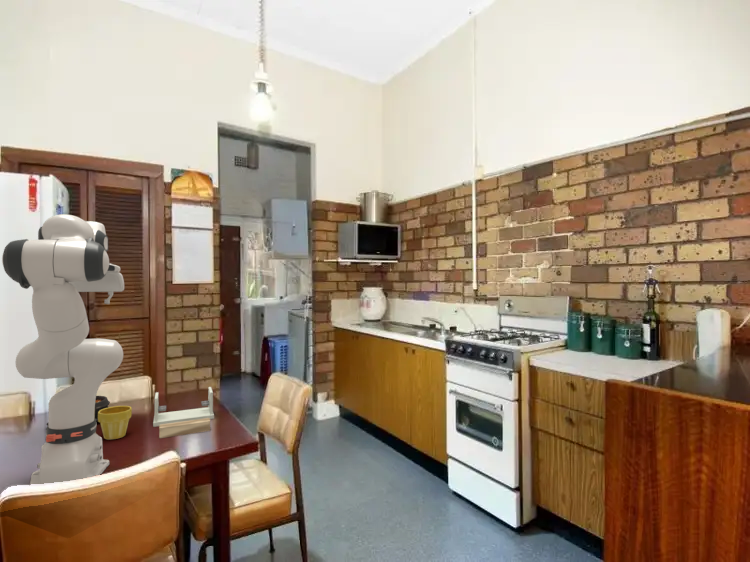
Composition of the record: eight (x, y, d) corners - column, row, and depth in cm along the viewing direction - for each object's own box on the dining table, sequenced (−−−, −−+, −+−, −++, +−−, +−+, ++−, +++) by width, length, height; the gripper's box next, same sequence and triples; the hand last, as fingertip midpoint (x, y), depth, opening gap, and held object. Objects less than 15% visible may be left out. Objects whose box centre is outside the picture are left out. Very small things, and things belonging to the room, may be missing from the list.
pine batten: (210, 431, 154) (210, 421, 154) (159, 439, 146) (159, 428, 146) (209, 428, 158) (209, 417, 158) (159, 435, 150) (159, 424, 150)
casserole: (66, 435, 149) (66, 412, 149) (34, 428, 156) (35, 406, 156) (130, 414, 172) (130, 395, 172) (100, 409, 179) (100, 390, 179)
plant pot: (121, 429, 155) (122, 403, 155) (137, 434, 150) (137, 407, 150) (91, 438, 146) (92, 411, 146) (107, 444, 141) (107, 415, 141)
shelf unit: (213, 418, 168) (214, 393, 168) (153, 426, 158) (153, 399, 158) (211, 410, 178) (211, 386, 178) (154, 417, 169) (154, 392, 169)
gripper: (54, 265, 141) (54, 305, 141) (123, 266, 150) (123, 304, 150) (58, 266, 147) (58, 304, 147) (125, 267, 156) (124, 303, 156)
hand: (91, 304), depth 149 cm, fingers open, 8 cm apart
